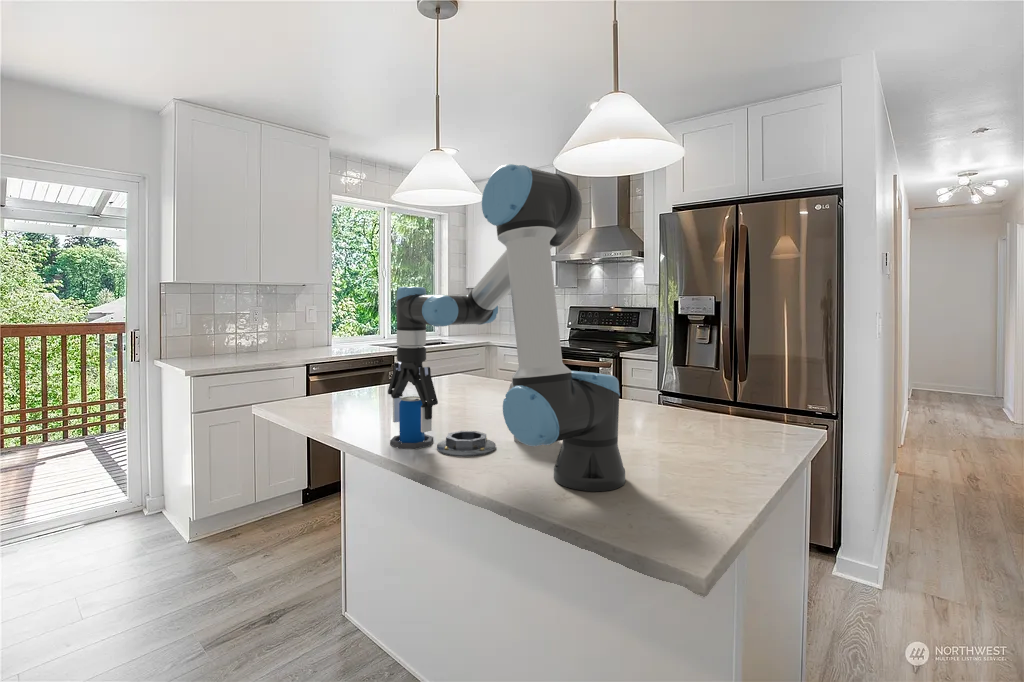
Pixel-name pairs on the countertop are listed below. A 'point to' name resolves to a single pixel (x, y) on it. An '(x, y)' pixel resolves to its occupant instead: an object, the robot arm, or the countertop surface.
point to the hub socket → (466, 444)
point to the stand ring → (400, 445)
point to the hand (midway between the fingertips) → (411, 426)
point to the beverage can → (410, 420)
